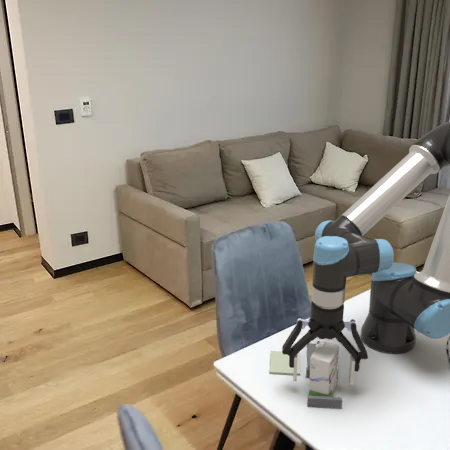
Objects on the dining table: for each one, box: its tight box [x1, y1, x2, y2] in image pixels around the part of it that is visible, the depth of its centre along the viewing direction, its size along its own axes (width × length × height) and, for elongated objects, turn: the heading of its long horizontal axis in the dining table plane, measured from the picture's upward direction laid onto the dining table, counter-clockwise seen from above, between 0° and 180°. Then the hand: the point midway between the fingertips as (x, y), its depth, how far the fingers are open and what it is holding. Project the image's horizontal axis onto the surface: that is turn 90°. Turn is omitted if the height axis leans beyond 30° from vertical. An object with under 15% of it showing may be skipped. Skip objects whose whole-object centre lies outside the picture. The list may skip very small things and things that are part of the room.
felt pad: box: [268, 350, 301, 377], centre depth 139 cm, size 8×10×1 cm
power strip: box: [305, 340, 343, 410], centre depth 135 cm, size 8×28×4 cm, turn 173°
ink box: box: [308, 340, 340, 397], centre depth 126 cm, size 8×5×12 cm, turn 153°
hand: (322, 379), depth 127 cm, fingers open, 13 cm apart
